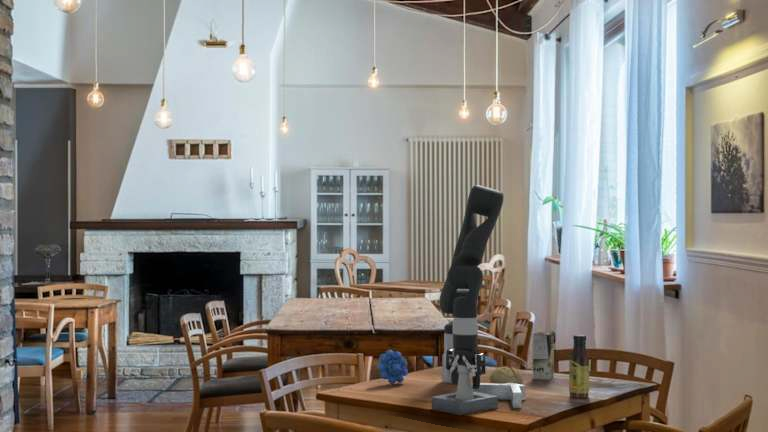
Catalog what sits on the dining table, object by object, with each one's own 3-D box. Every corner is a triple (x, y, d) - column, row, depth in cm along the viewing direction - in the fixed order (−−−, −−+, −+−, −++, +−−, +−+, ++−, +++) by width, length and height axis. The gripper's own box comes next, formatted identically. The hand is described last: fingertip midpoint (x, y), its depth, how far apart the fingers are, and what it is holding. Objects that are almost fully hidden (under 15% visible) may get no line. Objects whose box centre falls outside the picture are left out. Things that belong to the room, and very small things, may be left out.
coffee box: (550, 380, 296) (550, 335, 297) (532, 379, 298) (532, 334, 299) (554, 376, 305) (554, 332, 305) (536, 375, 307) (536, 331, 307)
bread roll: (509, 386, 286) (509, 362, 286) (529, 394, 271) (529, 369, 271) (483, 387, 283) (483, 364, 283) (502, 395, 268) (502, 371, 269)
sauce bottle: (566, 395, 270) (566, 333, 270) (585, 394, 270) (585, 333, 270) (572, 399, 263) (572, 336, 263) (592, 398, 264) (591, 335, 264)
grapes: (382, 387, 282) (382, 352, 282) (374, 384, 288) (374, 349, 288) (413, 384, 287) (413, 350, 287) (404, 381, 293) (404, 347, 293)
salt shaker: (473, 410, 245) (473, 366, 245) (454, 409, 246) (454, 365, 247) (475, 406, 251) (475, 363, 251) (456, 405, 252) (456, 362, 252)
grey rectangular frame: (431, 408, 248) (431, 396, 248) (469, 401, 258) (469, 390, 258) (460, 415, 239) (460, 403, 239) (497, 407, 249) (497, 396, 249)
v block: (517, 408, 248) (517, 393, 249) (468, 397, 264) (468, 383, 264) (543, 403, 256) (543, 388, 256) (494, 393, 272) (494, 379, 272)
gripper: (491, 333, 246) (491, 388, 246) (457, 329, 257) (457, 382, 257) (473, 335, 241) (473, 391, 241) (439, 331, 252) (439, 384, 252)
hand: (465, 386), depth 249 cm, fingers open, 8 cm apart
